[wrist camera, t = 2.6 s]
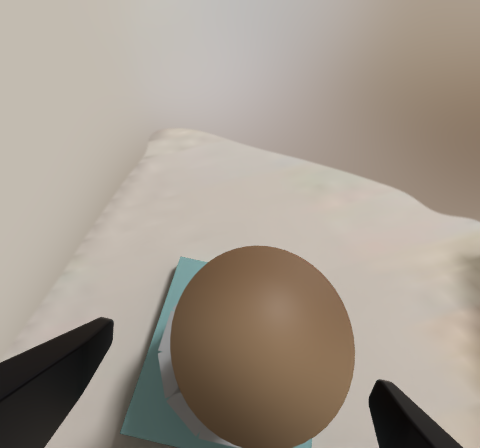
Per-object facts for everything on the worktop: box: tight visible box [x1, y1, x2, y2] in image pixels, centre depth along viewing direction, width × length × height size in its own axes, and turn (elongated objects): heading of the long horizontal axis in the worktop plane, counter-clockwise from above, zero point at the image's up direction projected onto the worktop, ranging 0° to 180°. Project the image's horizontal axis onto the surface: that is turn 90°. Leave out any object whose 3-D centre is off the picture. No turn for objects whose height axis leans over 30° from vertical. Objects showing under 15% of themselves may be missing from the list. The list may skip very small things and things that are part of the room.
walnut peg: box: [170, 246, 355, 448], centre depth 10 cm, size 4×4×11 cm
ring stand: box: [120, 257, 312, 448], centre depth 14 cm, size 10×10×4 cm
